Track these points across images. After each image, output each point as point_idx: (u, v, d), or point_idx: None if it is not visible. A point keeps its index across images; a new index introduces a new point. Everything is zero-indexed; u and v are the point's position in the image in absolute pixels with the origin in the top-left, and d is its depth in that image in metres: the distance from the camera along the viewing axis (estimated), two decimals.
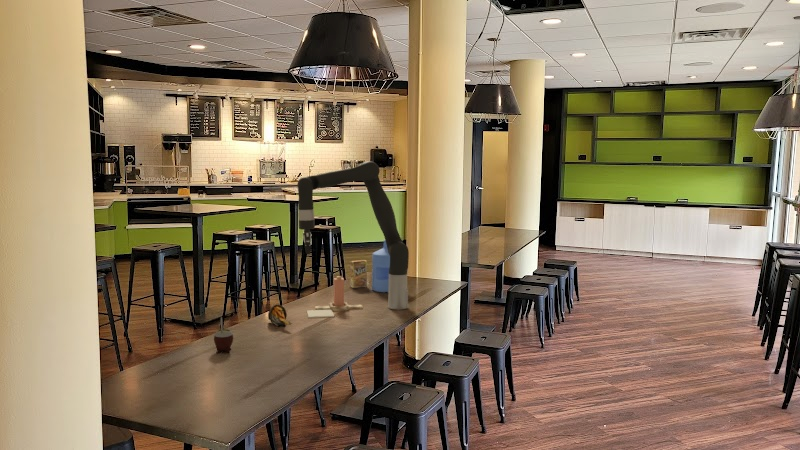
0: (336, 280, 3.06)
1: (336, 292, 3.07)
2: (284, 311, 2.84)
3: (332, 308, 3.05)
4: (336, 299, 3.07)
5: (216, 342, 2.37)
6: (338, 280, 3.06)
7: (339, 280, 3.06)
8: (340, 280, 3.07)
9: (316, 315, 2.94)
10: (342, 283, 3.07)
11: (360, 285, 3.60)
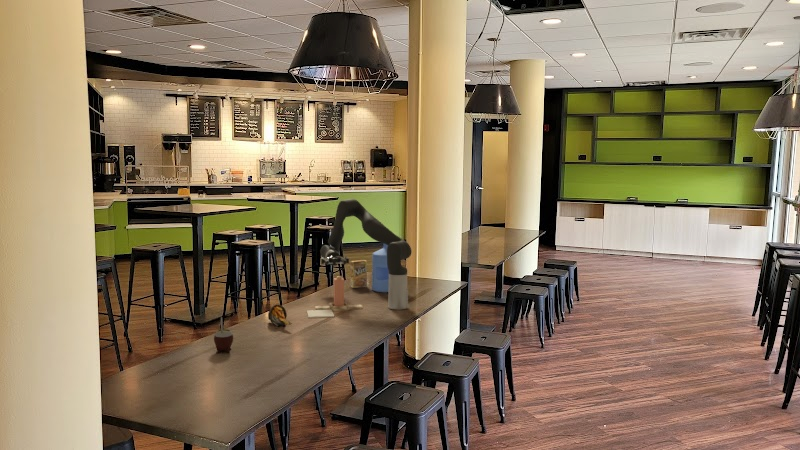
0: (336, 280, 3.06)
1: (336, 292, 3.07)
2: (284, 311, 2.84)
3: (332, 308, 3.05)
4: (336, 299, 3.07)
5: (216, 342, 2.37)
6: (338, 280, 3.06)
7: (339, 280, 3.06)
8: (340, 280, 3.06)
9: (316, 315, 2.94)
10: (342, 283, 3.07)
11: (360, 285, 3.60)
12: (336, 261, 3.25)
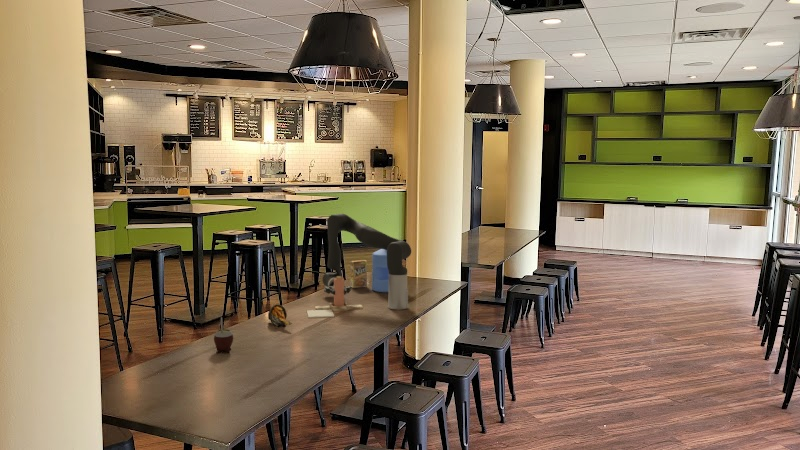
0: (336, 280, 3.06)
1: (336, 292, 3.07)
2: (284, 311, 2.84)
3: (332, 308, 3.05)
4: (336, 299, 3.07)
5: (216, 342, 2.37)
6: (338, 280, 3.06)
7: (339, 280, 3.06)
8: (340, 280, 3.06)
9: (316, 315, 2.94)
10: (342, 283, 3.07)
11: (360, 285, 3.60)
12: None
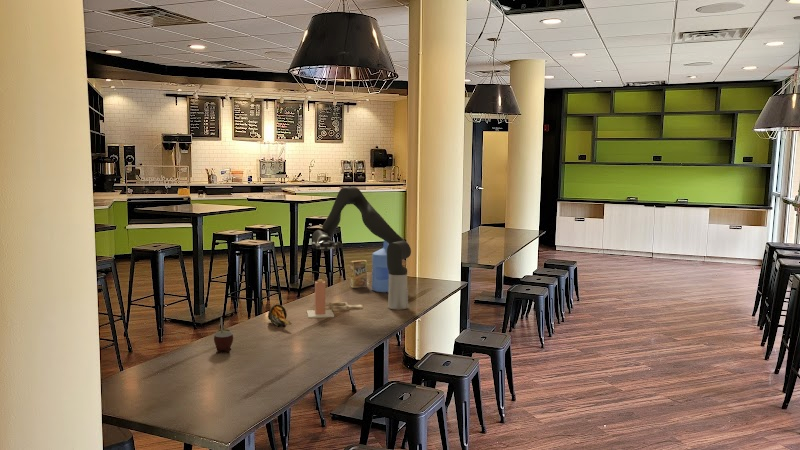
0: (317, 283, 2.94)
1: (317, 296, 2.95)
2: (284, 311, 2.84)
3: (332, 308, 3.05)
4: (317, 303, 2.95)
5: (216, 342, 2.37)
6: (319, 283, 2.95)
7: (320, 284, 2.95)
8: (321, 283, 2.95)
9: (316, 315, 2.94)
10: (323, 287, 2.95)
11: (360, 285, 3.60)
12: (328, 246, 3.17)
